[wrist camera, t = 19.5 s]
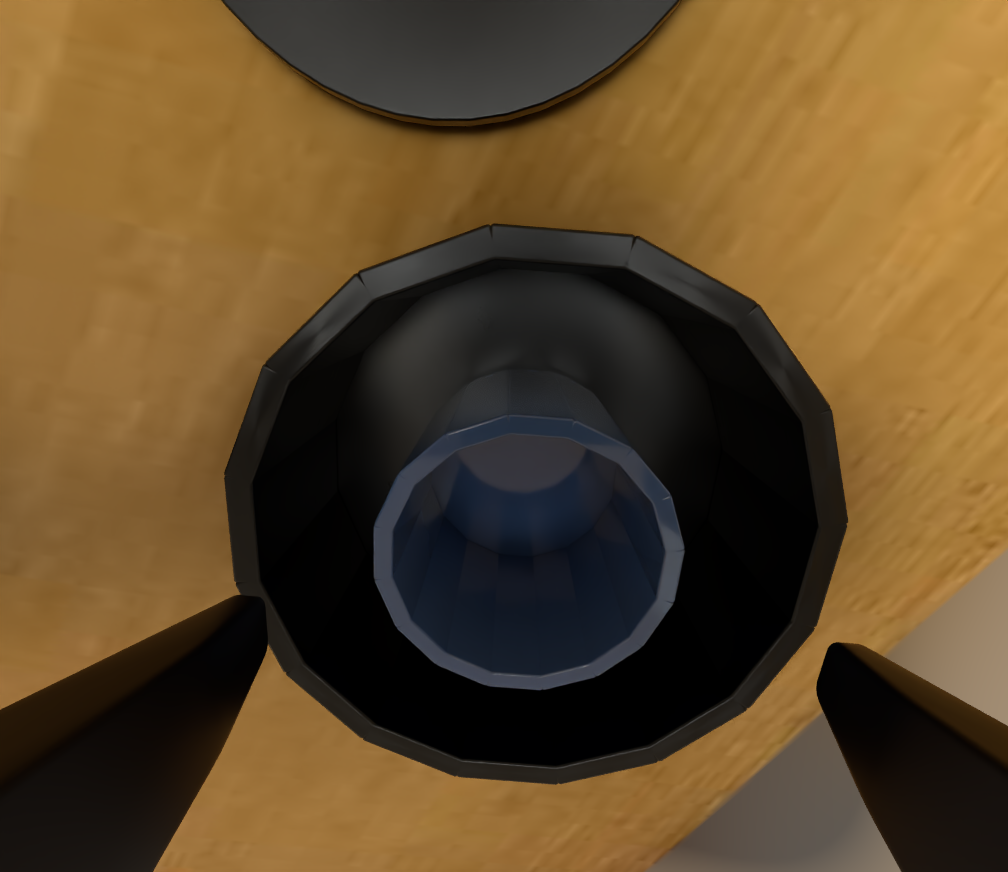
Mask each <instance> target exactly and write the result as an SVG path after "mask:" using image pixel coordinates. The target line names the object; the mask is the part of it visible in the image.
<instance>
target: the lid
mask: <svg viewBox="0 0 1008 872" xmlns="http://www.w3.org/2000/svg"><path fill="white" fill-rule="evenodd" d="M680 1H681V0H222V2H223V3H224V4H225V6H226V7H227V8H228V9H229V10H230V11H231V12H232V13H233V14H234V15H235V16H236V17H237V18H238V19H239V20H240V21H241V22H242V23H243V25H244V26H245V27H246V28H247V29H248V30H249V31H250V32H251V33H252V34H253V35H254V36H255V37H256V38H257V39H258V40H259V41H260V42H261V43H262V44H263V45H264V46H265V47H267V48H268V49H269V50H270V51H271V52H273V53H274V54H275V55H276V56H277V57H279V58H280V59H281V60H282V61H283V62H285V63H286V64H287V65H288V66H289V67H291V68H292V69H293V70H294V71H295V72H297V73H298V74H300V75H301V76H303V77H305V78H306V79H308V80H309V81H311V82H312V83H314V84H315V85H317V86H319V87H320V88H322V89H323V90H325V91H326V92H328V93H330V94H332V95H334V96H336V97H338V98H340V99H342V100H345V101H347V102H349V103H351V104H353V105H355V106H357V107H360V108H362V109H364V110H367V111H370V112H374V113H377V114H380V115H383V116H387V117H390V118H393V119H396V120H400V121H406V122H413V123H420V124H426V125H433V126H475V125H481V124H488V123H495V122H502V121H508V120H511V119H514V118H518V117H521V116H524V115H528V114H531V113H534V112H538V111H541V110H544V109H546V108H548V107H550V106H552V105H554V104H556V103H559V102H561V101H563V100H565V99H567V98H569V97H571V96H574V95H576V94H578V93H579V92H581V91H582V90H584V89H585V88H587V87H588V86H590V85H592V84H593V83H595V82H596V81H598V80H599V79H601V78H602V77H604V76H606V75H607V74H609V73H610V72H611V71H613V70H614V69H615V68H616V67H617V66H618V65H620V64H621V63H622V62H623V61H624V60H626V59H627V58H628V57H629V56H630V55H631V54H633V53H634V52H635V51H636V50H637V49H639V48H640V47H641V46H642V45H643V44H644V43H645V42H646V41H647V40H648V39H649V37H650V36H651V35H652V34H653V33H654V32H655V31H656V30H657V29H658V28H659V27H660V26H661V24H662V23H663V22H664V21H665V20H666V19H667V18H668V17H669V16H670V15H671V14H672V12H673V11H674V10H675V8H676V7H677V6H678V4H679V3H680Z"/></svg>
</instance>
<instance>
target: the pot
mask: <svg viewBox="0 0 1008 872" xmlns="http://www.w3.org/2000/svg"><path fill="white" fill-rule="evenodd" d="M514 368H534V369H541V370H547V371H551V372H554V373H558V374H561V375H563V376H565V377H568V378H570V379H572V380H574V381H576V382H577V383H579V384H581V385H582V386H584V387H585V388H587V389H588V390H589V391H591V392H593V393H594V394H595V395H596V396H597V397H598V399H599V400H600V401H601V402H602V403H603V404H604V405H605V407H606V408H607V409H608V411H609V412H610V413H611V414H612V416H613V417H614V418H615V419H616V420H617V422H618V423H619V424H620V425H621V427H622V428H623V430H624V431H625V432H626V434H627V435H628V436H629V438H630V439H631V440H632V442H633V443H634V444H635V446H636V447H637V449H638V450H639V451H640V453H641V454H642V455H643V457H644V458H645V459H646V461H647V462H648V463H649V465H650V466H651V467H652V469H653V470H654V472H655V473H656V474H657V476H658V477H659V478H660V480H661V481H662V482H663V484H664V485H665V486H666V488H667V489H668V491H669V492H670V495H671V496H672V499H673V503H674V507H675V511H676V515H677V519H678V523H679V527H680V530H681V534H682V538H683V542H684V546H685V548H684V550H685V552H684V557H683V562H682V567H681V572H680V577H679V582H678V586H677V591H676V596H675V601H674V602H673V605H672V607H671V608H670V609H669V611H668V612H667V614H666V615H665V616H664V618H663V619H662V621H661V622H660V623H659V625H658V626H657V628H656V629H655V630H654V632H653V633H652V635H651V636H650V637H649V639H648V640H647V642H646V643H645V644H644V646H642V647H641V648H640V649H639V650H637V651H636V652H634V653H633V654H631V655H630V656H628V657H627V658H625V659H624V660H622V661H621V662H619V663H617V664H616V665H614V666H613V667H611V668H610V669H608V670H607V671H605V672H604V673H602V674H601V675H599V676H596V677H595V678H591V679H587V680H583V681H579V682H575V683H571V684H567V685H562V686H558V687H554V688H550V689H546V690H543V689H542V690H530V689H517V688H504V687H491V686H487V685H483V684H480V683H478V682H476V681H473V680H471V679H468V678H466V677H464V676H461V675H459V674H457V673H454V672H452V671H450V670H447V669H445V668H442V667H440V666H438V665H437V664H435V663H433V662H432V661H431V660H430V659H429V658H428V657H427V656H426V655H425V654H424V653H423V652H422V651H420V650H419V649H418V648H417V647H416V646H415V645H414V644H413V643H412V642H411V641H410V640H409V639H408V638H406V637H405V636H404V635H403V634H402V633H401V632H400V631H399V630H398V629H397V627H396V626H395V624H394V622H393V620H392V618H391V616H390V613H389V611H388V609H387V607H386V605H385V603H384V600H383V598H382V596H381V594H380V592H379V590H378V587H377V585H376V583H375V579H374V529H373V527H374V523H375V520H376V518H377V516H378V514H379V512H380V510H381V508H382V506H383V504H384V501H385V499H386V497H387V495H388V493H389V491H390V489H391V487H392V484H393V482H394V480H395V478H396V476H397V474H398V473H399V471H400V469H401V468H402V466H403V464H404V463H405V461H406V460H407V458H408V456H409V455H410V453H411V452H412V450H413V448H414V447H415V445H416V443H417V442H418V440H419V439H420V437H421V435H422V434H423V432H424V431H425V429H426V427H427V426H428V424H429V423H430V421H431V419H432V418H433V416H434V414H435V413H436V412H437V410H438V409H439V408H440V407H441V406H443V405H444V403H445V402H446V401H447V400H448V399H449V398H450V397H451V396H452V395H453V394H454V393H456V392H457V391H458V390H460V389H461V388H462V387H464V386H465V385H466V384H468V383H470V382H472V381H474V380H475V379H477V378H480V377H482V376H485V375H487V374H490V373H493V372H497V371H501V370H506V369H514ZM224 475H225V478H224V481H225V491H226V501H227V511H228V521H229V532H230V542H231V552H232V562H233V572H234V581H235V582H236V587H237V588H238V590H239V592H240V594H241V595H247V596H259V597H261V598H262V599H263V600H264V602H265V606H266V619H267V632H268V644H269V646H270V648H271V650H272V652H273V653H274V655H275V657H276V659H277V661H278V662H279V664H280V666H281V668H282V670H283V671H284V672H286V675H287V676H288V677H289V678H291V679H292V680H293V681H294V682H295V683H296V684H298V685H299V686H300V687H301V688H302V689H304V690H305V691H306V692H307V693H308V694H309V695H311V696H312V697H313V698H314V699H315V700H317V701H318V702H319V703H320V704H321V705H322V706H324V707H325V708H326V709H327V710H328V711H330V712H331V713H332V714H333V715H334V716H335V717H337V718H338V719H339V720H340V721H341V722H343V723H344V724H345V725H346V726H347V727H348V728H350V729H351V730H352V731H353V732H354V733H356V734H357V735H358V736H359V737H360V738H363V740H365V741H367V742H370V743H372V744H375V745H377V746H380V747H382V748H385V749H387V750H390V751H392V752H395V753H397V754H400V755H402V756H405V757H407V758H410V759H412V760H415V761H417V762H420V763H422V764H425V765H427V766H430V767H432V768H435V769H438V770H440V771H443V772H445V773H448V774H450V775H453V776H458V777H464V778H477V779H490V780H503V781H516V782H529V783H542V784H555V785H556V784H558V783H559V784H564V783H568V782H572V781H577V780H581V779H586V778H590V777H595V776H599V775H604V774H608V773H613V772H617V771H622V770H626V769H631V768H635V767H640V766H644V765H649V764H653V763H656V762H657V761H662V760H663V759H665V758H667V757H668V756H670V755H672V754H673V753H675V752H677V751H679V750H680V749H682V748H684V747H685V746H687V745H689V744H690V743H692V742H694V741H696V740H697V739H699V738H701V737H702V736H704V735H706V734H707V733H709V732H711V731H713V730H714V729H716V728H718V727H719V726H721V725H723V724H724V723H726V722H728V721H730V720H731V719H733V718H735V717H736V716H738V715H740V714H741V713H743V712H745V711H746V710H747V708H750V707H751V706H752V704H753V703H754V702H755V701H756V700H757V698H758V697H759V696H760V695H761V694H762V692H763V691H764V690H765V689H766V688H767V686H768V685H769V684H770V683H771V682H772V680H773V679H774V678H775V677H776V676H777V674H778V673H779V672H780V671H781V669H782V668H783V667H784V666H785V665H786V663H787V662H788V661H789V660H790V659H791V657H792V656H793V655H794V654H795V653H796V651H797V650H798V649H799V648H800V647H801V645H802V644H803V643H804V642H805V641H806V639H807V638H808V637H809V636H810V635H811V633H812V632H813V631H814V629H815V628H814V627H816V626H817V623H818V620H819V616H820V613H821V610H822V607H823V603H824V600H825V597H826V594H827V590H828V587H829V584H830V580H831V577H832V574H833V571H834V567H835V564H836V561H837V558H838V554H839V551H840V548H841V545H842V541H843V538H844V535H845V532H846V528H847V524H846V523H848V517H847V510H846V503H845V496H844V490H843V483H842V476H841V469H840V462H839V455H838V448H837V442H836V435H835V428H834V421H833V414H832V410H831V408H830V405H829V404H828V402H827V401H826V399H825V398H824V396H823V395H822V394H821V392H820V391H819V389H818V388H817V386H816V385H815V384H814V382H813V381H812V379H811V378H810V376H809V375H808V374H807V372H806V371H805V369H804V368H803V366H802V365H801V363H800V362H799V361H798V359H797V358H796V356H795V355H794V353H793V352H792V351H791V349H790V348H789V346H788V345H787V343H786V342H785V341H784V339H783V338H782V336H781V335H780V333H779V332H778V331H777V329H776V328H775V326H774V325H773V323H772V322H771V320H770V319H769V318H768V316H767V315H766V313H765V312H764V310H763V309H762V308H761V306H760V305H759V304H757V303H756V302H755V301H754V300H753V299H751V298H749V297H747V296H745V295H744V294H742V293H740V292H738V291H736V290H735V289H733V288H731V287H729V286H727V285H726V284H724V283H722V282H720V281H719V280H717V279H715V278H713V277H711V276H710V275H708V274H706V273H704V272H702V271H701V270H699V269H697V268H695V267H693V266H692V265H690V264H688V263H686V262H684V261H683V260H681V259H679V258H677V257H676V256H674V255H672V254H670V253H668V252H667V251H665V250H663V249H661V248H659V247H658V246H656V245H654V244H652V243H650V242H649V241H647V240H645V239H643V238H641V237H640V236H635V235H633V234H623V233H611V232H598V231H585V230H572V229H559V228H546V227H533V226H520V225H507V224H491V226H490V225H484V226H481V227H478V228H476V229H473V230H470V231H467V232H465V233H462V234H459V235H456V236H454V237H451V238H448V239H445V240H442V241H440V242H437V243H434V244H431V245H429V246H426V247H423V248H420V249H417V250H415V251H412V252H409V253H406V254H404V255H401V256H398V257H395V258H393V259H390V260H387V261H384V262H381V263H379V264H376V265H373V266H370V267H368V268H365V269H362V270H360V271H359V272H358V273H356V274H354V275H353V276H352V277H351V278H350V279H349V280H348V281H347V282H346V283H345V284H344V285H343V286H342V287H341V288H340V289H339V290H338V291H337V292H336V293H335V294H334V295H333V296H332V297H331V298H329V299H328V300H327V301H326V302H325V303H324V304H323V305H322V306H321V307H320V308H319V309H318V310H317V311H316V312H315V313H314V314H313V315H312V316H311V317H310V318H309V319H308V320H307V321H306V322H305V323H304V324H303V325H302V326H301V327H300V328H299V329H298V330H297V331H296V332H295V333H294V334H293V335H292V336H291V337H290V338H289V339H288V340H287V341H286V342H285V343H284V344H283V345H282V346H281V347H280V348H279V349H278V350H277V351H276V352H275V353H274V354H273V355H272V356H271V357H270V358H269V359H268V360H267V361H266V363H265V364H264V365H263V366H262V369H261V372H260V375H259V377H258V380H257V383H256V386H255V388H254V391H253V394H252V397H251V400H250V402H249V405H248V408H247V411H246V414H245V416H244V419H243V422H242V425H241V428H240V430H239V433H238V436H237V439H236V442H235V444H234V447H233V450H232V453H231V455H230V458H229V461H228V464H227V467H226V469H225V472H224Z"/></svg>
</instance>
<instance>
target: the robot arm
mask: <svg viewBox="0 0 1008 872" xmlns="http://www.w3.org/2000/svg"><path fill="white" fill-rule="evenodd" d="M267 646H268V632H267V619H266V606H265V602H264V600H263V599H262V598H261V597H259V596H247V595H235V596H232V597H230V598H228V599H226V600H224V601H222V602H220V603H218V604H216V605H214V606H212V607H210V608H208V609H206V610H204V611H202V612H200V613H198V614H196V615H194V616H191V617H189V618H187V619H185V620H183V621H181V622H179V623H177V624H175V625H173V626H171V627H169V628H167V629H165V630H163V631H161V632H159V633H157V634H155V635H153V636H151V637H148V638H146V639H144V640H142V641H140V642H138V643H136V644H134V645H132V646H130V647H128V648H126V649H124V650H122V651H120V652H118V653H116V654H114V655H112V656H110V657H107V658H105V659H103V660H101V661H99V662H97V663H95V664H93V665H91V666H89V667H87V668H85V669H83V670H81V671H79V672H77V673H75V674H73V675H71V676H69V677H67V678H64V679H62V680H60V681H58V682H56V683H54V684H52V685H50V686H48V687H46V688H44V689H42V690H40V691H38V692H36V693H34V694H32V695H30V696H28V697H26V698H24V699H21V700H19V701H17V702H15V703H13V704H11V705H9V706H7V707H5V708H3V709H1V710H0V872H153V870H154V869H155V867H156V865H157V864H158V862H159V860H160V858H161V857H162V855H163V853H164V851H165V850H166V848H167V846H168V844H169V843H170V841H171V839H172V837H173V836H174V834H175V832H176V830H177V829H178V827H179V825H180V823H181V822H182V820H183V818H184V816H185V815H186V813H187V811H188V809H189V808H190V806H191V804H192V802H193V801H194V799H195V797H196V796H197V794H198V792H199V790H200V789H201V787H202V785H203V783H204V782H205V780H206V778H207V776H208V775H209V773H210V771H211V769H212V767H213V766H214V764H215V762H216V760H217V758H218V756H219V755H220V753H221V751H222V749H223V747H224V745H225V742H226V740H227V738H228V736H229V734H230V732H231V730H232V727H233V725H234V723H235V721H236V719H237V716H238V714H239V712H240V710H241V708H242V705H243V703H244V701H245V699H246V697H247V694H248V692H249V690H250V688H251V685H252V683H253V681H254V679H255V677H256V674H257V672H258V670H259V668H260V666H261V663H262V661H263V659H264V657H265V654H266V651H267ZM816 691H817V697H818V700H819V703H820V705H821V707H822V710H823V712H824V714H825V716H826V719H827V720H828V723H829V725H830V727H831V730H832V732H833V734H834V737H835V739H836V741H837V743H838V746H839V748H840V750H841V752H842V754H843V757H844V759H845V761H846V764H847V766H848V768H849V770H850V773H851V775H852V777H853V779H854V782H855V784H856V786H857V788H858V790H859V792H860V795H861V797H862V799H863V801H864V803H865V805H866V807H867V809H868V811H869V813H870V815H871V816H872V818H873V820H874V822H875V824H876V826H877V828H878V830H879V831H880V833H881V835H882V837H883V839H884V841H885V842H886V844H887V846H888V848H889V850H890V851H891V853H892V855H893V857H894V859H895V861H896V863H897V864H898V866H899V868H900V870H901V872H1008V726H1007V725H1005V724H1003V723H1001V722H1000V721H998V720H996V719H994V718H992V717H991V716H989V715H987V714H985V713H983V712H982V711H980V710H978V709H976V708H974V707H972V706H971V705H969V704H967V703H965V702H964V701H962V700H960V699H958V698H957V697H955V696H953V695H951V694H949V693H948V692H946V691H944V690H942V689H940V688H939V687H937V686H935V685H933V684H931V683H930V682H928V681H926V680H924V679H922V678H921V677H919V676H917V675H915V674H913V673H912V672H910V671H908V670H906V669H904V668H903V667H901V666H899V665H897V664H896V663H894V662H892V661H890V660H888V659H887V658H885V657H883V656H881V655H879V654H878V653H876V652H874V651H872V650H870V649H869V648H867V647H865V646H863V645H860V644H852V643H840V642H836V643H833V644H831V645H830V646H829V647H828V650H827V652H826V655H825V659H824V662H823V665H822V668H821V671H820V674H819V677H818V680H817V686H816Z"/></svg>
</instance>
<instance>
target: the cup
mask: <svg viewBox="0 0 1008 872" xmlns="http://www.w3.org/2000/svg"><path fill="white" fill-rule="evenodd" d="M373 529H374V579H375V583H376V585H377V587H378V590H379V592H380V594H381V596H382V598H383V600H384V603H385V605H386V607H387V609H388V611H389V613H390V616H391V618H392V620H393V622H394V624H395V626H396V627H397V629H398V630H399V631H400V632H401V633H402V634H403V635H404V636H405V637H406V638H408V639H409V640H410V641H411V642H412V643H413V644H414V645H415V646H416V647H417V648H418V649H419V650H420V651H422V652H423V653H424V654H425V655H426V656H427V657H428V658H429V659H430V660H431V661H432V662H433V663H435V664H437V665H438V666H440V667H442V668H445V669H447V670H450V671H452V672H454V673H457V674H459V675H461V676H464V677H466V678H468V679H471V680H473V681H476V682H478V683H480V684H483V685H487V686H491V687H504V688H517V689H530V690H542V689H543V690H546V689H550V688H554V687H558V686H562V685H567V684H571V683H575V682H579V681H583V680H587V679H591V678H595V677H596V676H599V675H601V674H602V673H604V672H605V671H607V670H608V669H610V668H611V667H613V666H614V665H616V664H617V663H619V662H621V661H622V660H624V659H625V658H627V657H628V656H630V655H631V654H633V653H634V652H636V651H637V650H639V649H640V648H641V647H642V646H644V644H645V643H646V642H647V640H648V639H649V637H650V636H651V635H652V633H653V632H654V630H655V629H656V628H657V626H658V625H659V623H660V622H661V621H662V619H663V618H664V616H665V615H666V614H667V612H668V611H669V609H670V608H671V607H672V605H673V602H674V601H675V596H676V591H677V586H678V582H679V577H680V572H681V567H682V562H683V557H684V552H685V550H684V548H685V546H684V542H683V538H682V534H681V530H680V527H679V523H678V519H677V515H676V511H675V507H674V503H673V499H672V496H671V495H670V492H669V491H668V489H667V488H666V486H665V485H664V484H663V482H662V481H661V480H660V478H659V477H658V476H657V474H656V473H655V472H654V470H653V469H652V467H651V466H650V465H649V463H648V462H647V461H646V459H645V458H644V457H643V455H642V454H641V453H640V451H639V450H638V449H637V447H636V446H635V444H634V443H633V442H632V440H631V439H630V438H629V436H628V435H627V434H626V432H625V431H624V430H623V428H622V427H621V425H620V424H619V423H618V422H617V420H616V419H615V418H614V417H613V416H612V414H611V413H610V412H609V411H608V409H607V408H606V407H605V405H604V404H603V403H602V402H601V401H600V400H599V399H598V397H597V396H596V395H595V394H594V393H593V392H591V391H589V390H588V389H587V388H585V387H584V386H582V385H581V384H579V383H577V382H576V381H574V380H572V379H570V378H568V377H565V376H563V375H561V374H558V373H554V372H551V371H547V370H541V369H534V368H514V369H506V370H501V371H497V372H493V373H490V374H487V375H485V376H482V377H480V378H477V379H475V380H474V381H472V382H470V383H468V384H466V385H465V386H464V387H462V388H461V389H460V390H458V391H457V392H456V393H454V394H453V395H452V396H451V397H450V398H449V399H448V400H447V401H446V402H445V403H444V405H443V406H441V407H440V408H439V409H438V410H437V412H436V413H435V414H434V416H433V418H432V419H431V421H430V423H429V424H428V426H427V427H426V429H425V431H424V432H423V434H422V435H421V437H420V439H419V440H418V442H417V443H416V445H415V447H414V448H413V450H412V452H411V453H410V455H409V456H408V458H407V460H406V461H405V463H404V464H403V466H402V468H401V469H400V471H399V473H398V474H397V476H396V478H395V480H394V482H393V484H392V487H391V489H390V491H389V493H388V495H387V497H386V499H385V501H384V504H383V506H382V508H381V510H380V512H379V514H378V516H377V518H376V520H375V523H374V527H373Z"/></svg>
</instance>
